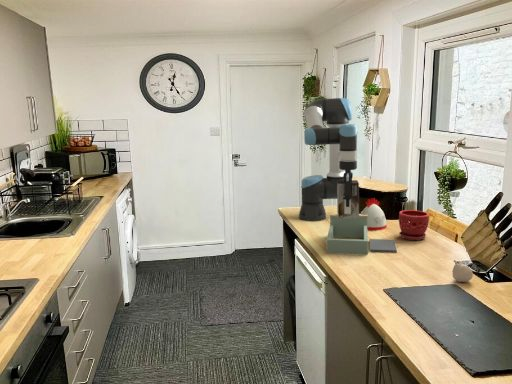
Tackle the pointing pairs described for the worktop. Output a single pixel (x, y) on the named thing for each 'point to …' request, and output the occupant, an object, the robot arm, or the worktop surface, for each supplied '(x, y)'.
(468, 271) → the garlic bulb
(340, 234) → the green drawer
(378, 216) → the kitchen timer
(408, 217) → the plant pot
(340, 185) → the coffee box
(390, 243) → the rubber mat
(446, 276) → the worktop surface
